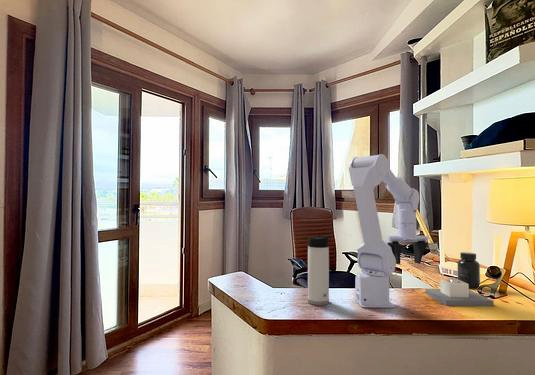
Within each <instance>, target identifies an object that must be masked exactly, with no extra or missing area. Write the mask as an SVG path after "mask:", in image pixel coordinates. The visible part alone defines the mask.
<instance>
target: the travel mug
mask: <svg viewBox="0 0 535 375" xmlns="http://www.w3.org/2000/svg"><path fill="white" fill-rule="evenodd" d="M330 238H331V236H330V235H329V234H326V235H316V236H312V237H311V236H310V237H308V239H307V240H308V241H307V302H308V303H309V304H311V305H314V306H326V305H329V302H330V301H329V300H330V297H329V296H330V293H329V292H330V289H329V287H330V250H329V247H330V246H329V239H330Z"/></svg>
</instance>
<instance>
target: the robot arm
mask: <svg viewBox="0 0 535 375" xmlns="http://www.w3.org/2000/svg"><path fill="white" fill-rule="evenodd" d="M348 172H349V177H350V183H351V186H352V189H353V192H354V198H355V203H356V208H357V212H358V218H359V219H358V220H359V222H360V229H361V234H362V239H363V242H362V243H361V244H360V245H359V246H358V248H357V249H356V252H357V265H358V267H359V269H360V270H361V273H360V272H359V273H358V272H357V273H356V274H355V279H354V280H355V281H354V282H355V284H354V285H355V286H354V287H355V288H354V289H355V290H354V292H355V294H354V295H355V297H354V300H355V301H356V302H357V303H358V304H359V305H360V307H362V308H381V309H383V308H384V309H385V308H387V309H389V308H391V309H392V308H396V306H395V305H394V304H393V303H392V302H391V301H390V275H392V274H393V273H394V272H395V269H396V268H397V267H396V266H397V265H401V253H402V248H403V244H401V243H412V248H413V253H414V254H413V258H414V259H413V260H414V263H415V264H418V265H420V264H421V262H422V259H423V256H424V253H425V251H426V249H427V248H428V246H429V244H428V242H429V236H427V235H417V211H418V209H419V203H420V193H419V191H418V190H417V189H415V188H413V187H410V186H409V185H408V184H407V183H406V181H405V180H404V179H403V178H402V177H401V176H396V175H395V174H394V173H393V171H392V170H391V169H390V161H389V159H388V158H387V156H385V154H382V153H380V154H377V155H375V154H374V155H367V156H359V157H358V156H355V157H353V158H352V159H351V160H350V162H349V165H348ZM382 182H383V183H384V184H385V187H386V190H387V191H388V192H389V193H390V194H391V195H392V197H393V200H394V203H395V204H396V205H397V235H388V236H387V235H386V236H385V238H386V242H385V240H383V236H382V230H381V225H380V220H379V214H378V209H377V203H376V198H375V192H374V189H375V187H378V186H379V185H380V184H381V183H382Z"/></svg>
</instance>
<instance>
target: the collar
mask: <svg viewBox="0 0 535 375" xmlns="http://www.w3.org/2000/svg"><path fill="white" fill-rule="evenodd" d="M439 281H440V282H439V285H440V287H439V289H440V292H442V293H444V294H445V295H447V296H449V297H469V290H470V289H469V284H467V283H465V282H463V281H460V280H458V283H450V278H449V279H445V278H443V279H442V278H440V279H439Z"/></svg>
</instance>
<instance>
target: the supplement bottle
mask: <svg viewBox="0 0 535 375" xmlns="http://www.w3.org/2000/svg"><path fill="white" fill-rule="evenodd" d="M459 258H460V259H458V261H457V279H458V280H460V281H463V282H465V283H467V284H469V290H470V289H471V290H477V288H478V287H479V285H480V286H481V269H480V268H481V264H480V262H478V261H477V253H474V252H465V251H464V252H463V251H462V252H460V255H459ZM478 289H479V288H478Z"/></svg>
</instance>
